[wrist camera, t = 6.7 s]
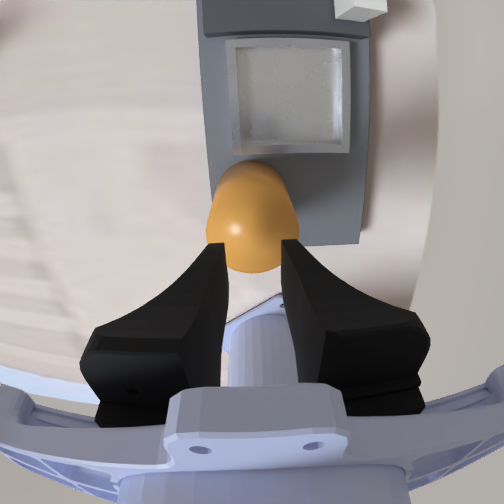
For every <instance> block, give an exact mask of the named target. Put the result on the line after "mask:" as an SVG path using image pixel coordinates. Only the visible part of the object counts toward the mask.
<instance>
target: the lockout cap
mask: <svg viewBox="0 0 504 504" xmlns="http://www.w3.org/2000/svg"><path fill="white" fill-rule="evenodd" d="M206 238H207V242H208V244H209V243H224V244H225V254H226V263H227V267H229V268H230V269H233V270H235V271H239V272H243V273H261V272H266V271H269V270H272V269H274V268H276V267H278V266H280V265H281V240H284V239H297V240H299V223H298V220H297V217H296V214H295V211H294V208H293V205H292V203H291V200H290V197H289V194H288V192H287V189H286V186H285V183H284V181H283V179H282V177H281V175H280V174H279V173H278V172H277V171H276V170H275V169H274V168H273V167H271V166H270V165H268V164H266V163H263V162H260V161H254V160H248V161H242V162H239V163H236V164H234V165H232V166H231V167H229V168H228V169H227V170H226V171H225V172H224V173H223V174H222V176H221V177H220V179H219V181H218V184H217V187H216V191H215V195H214V199H213V202H212V206H211V210H210V214H209V218H208V222H207V227H206Z"/></svg>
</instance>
